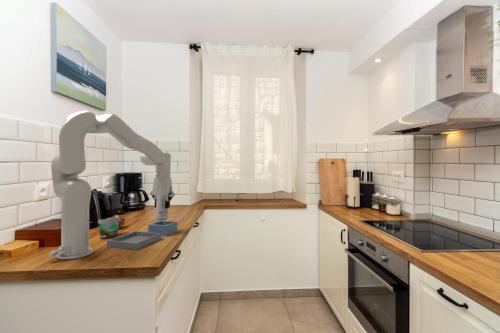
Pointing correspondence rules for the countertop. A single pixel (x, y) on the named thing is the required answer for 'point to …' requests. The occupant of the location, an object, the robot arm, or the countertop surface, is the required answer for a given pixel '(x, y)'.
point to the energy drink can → (161, 208)
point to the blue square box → (163, 227)
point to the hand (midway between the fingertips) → (162, 207)
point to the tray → (134, 240)
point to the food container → (108, 227)
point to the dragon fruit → (120, 221)
